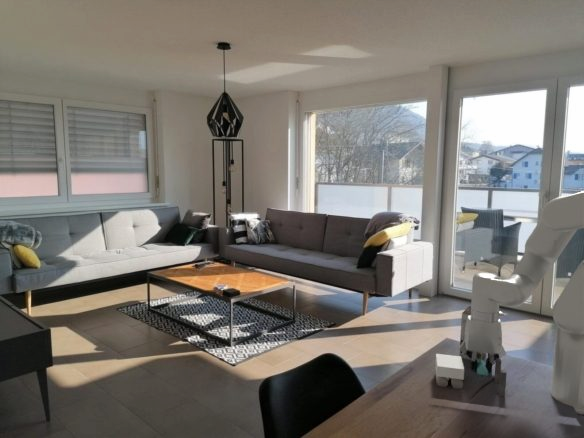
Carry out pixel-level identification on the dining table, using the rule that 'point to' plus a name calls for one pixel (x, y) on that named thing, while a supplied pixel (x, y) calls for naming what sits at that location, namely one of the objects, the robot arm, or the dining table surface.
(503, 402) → the dining table surface
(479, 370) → the roller
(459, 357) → the slab
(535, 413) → the dining table surface
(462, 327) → the coffee box
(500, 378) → the roller bed
